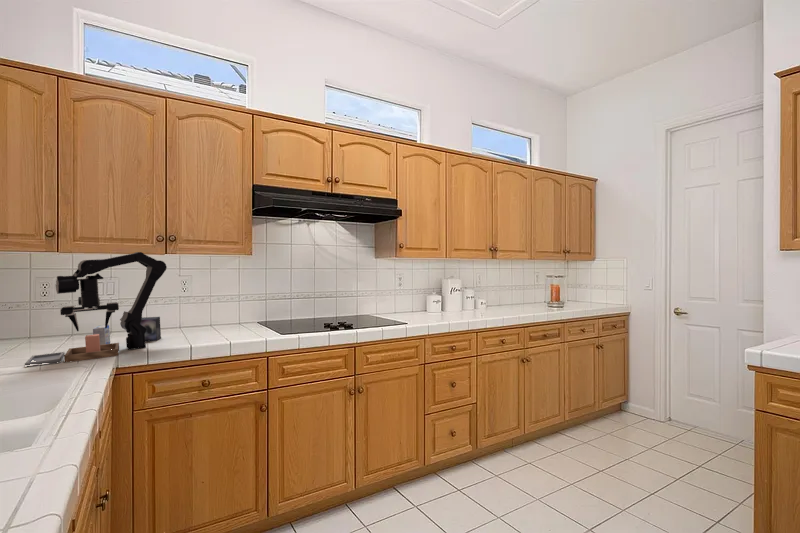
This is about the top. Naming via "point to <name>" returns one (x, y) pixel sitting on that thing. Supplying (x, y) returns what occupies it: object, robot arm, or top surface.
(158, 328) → the small box
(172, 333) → the top surface
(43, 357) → the charcoal tray
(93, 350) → the brick block
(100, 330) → the medicine box
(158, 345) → the top surface
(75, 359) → the frame
